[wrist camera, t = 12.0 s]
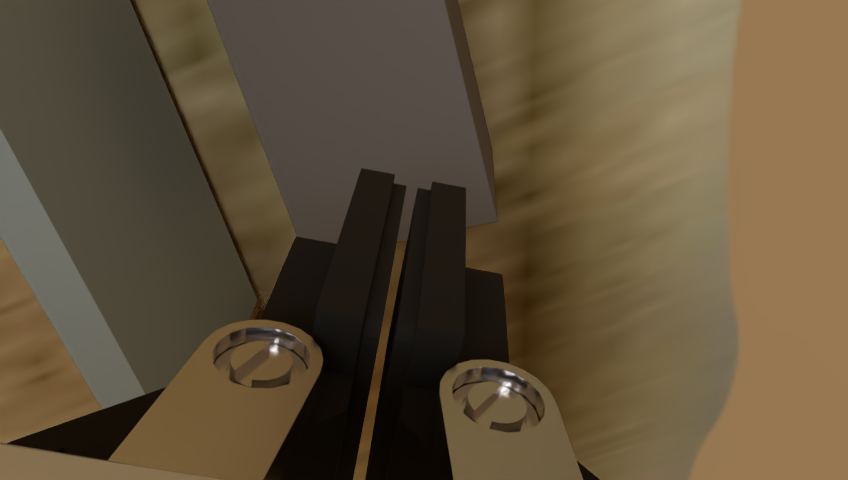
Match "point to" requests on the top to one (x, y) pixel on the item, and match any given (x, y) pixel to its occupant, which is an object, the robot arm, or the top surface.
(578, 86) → the top surface
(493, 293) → the robot arm
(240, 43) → the doorstop block
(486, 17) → the top surface
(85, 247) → the door
